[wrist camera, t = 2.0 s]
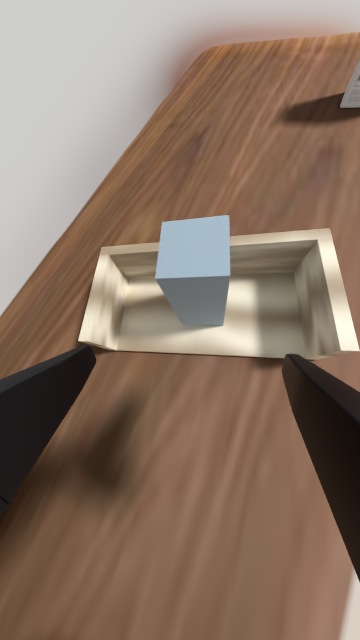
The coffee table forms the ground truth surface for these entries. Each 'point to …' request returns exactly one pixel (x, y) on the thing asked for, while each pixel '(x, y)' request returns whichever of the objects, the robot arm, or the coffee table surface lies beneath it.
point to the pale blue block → (195, 268)
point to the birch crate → (229, 302)
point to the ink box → (352, 91)
